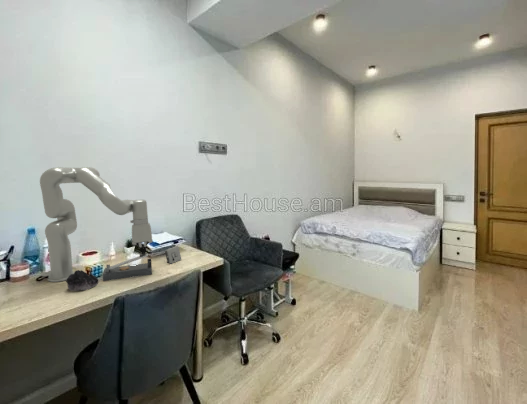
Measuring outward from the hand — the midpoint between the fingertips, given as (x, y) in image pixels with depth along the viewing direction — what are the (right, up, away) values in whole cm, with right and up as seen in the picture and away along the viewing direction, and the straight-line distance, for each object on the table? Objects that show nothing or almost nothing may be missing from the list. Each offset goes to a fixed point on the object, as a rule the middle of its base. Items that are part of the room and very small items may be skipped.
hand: (143, 253), depth 153 cm
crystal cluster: (-23, -14, -17) cm, 32 cm away
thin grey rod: (-7, -5, -3) cm, 9 cm away
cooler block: (-7, -12, -2) cm, 14 cm away
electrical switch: (+10, -9, +21) cm, 25 cm away
